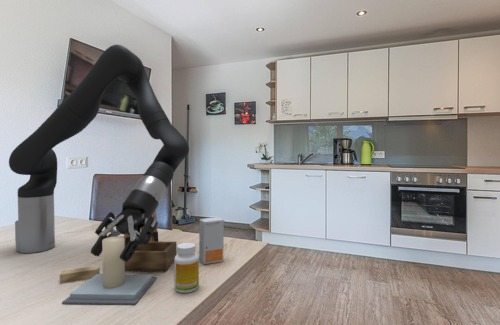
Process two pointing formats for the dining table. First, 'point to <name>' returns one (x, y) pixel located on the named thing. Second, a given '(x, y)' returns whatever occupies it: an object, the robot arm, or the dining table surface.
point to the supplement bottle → (186, 268)
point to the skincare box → (211, 240)
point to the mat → (110, 301)
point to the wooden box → (152, 257)
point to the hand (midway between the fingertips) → (108, 257)
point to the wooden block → (78, 274)
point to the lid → (112, 276)
